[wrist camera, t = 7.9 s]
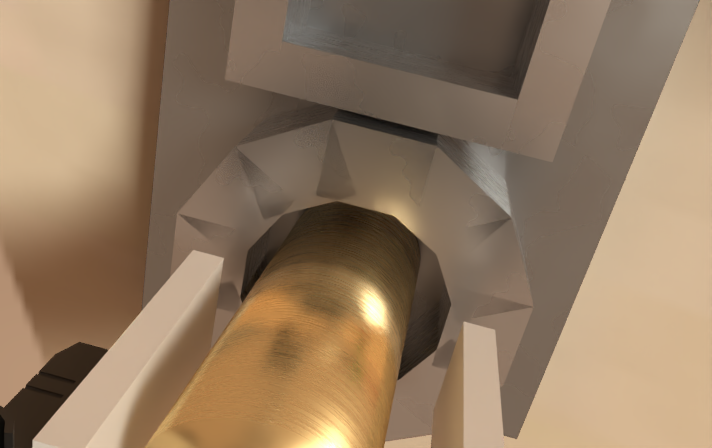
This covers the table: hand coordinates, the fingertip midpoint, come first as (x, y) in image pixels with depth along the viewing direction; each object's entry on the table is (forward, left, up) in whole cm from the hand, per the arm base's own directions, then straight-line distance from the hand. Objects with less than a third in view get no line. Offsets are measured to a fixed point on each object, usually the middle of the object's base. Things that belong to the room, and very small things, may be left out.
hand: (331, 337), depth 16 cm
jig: (-4, 0, -6) cm, 8 cm away
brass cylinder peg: (0, 0, -4) cm, 4 cm away
